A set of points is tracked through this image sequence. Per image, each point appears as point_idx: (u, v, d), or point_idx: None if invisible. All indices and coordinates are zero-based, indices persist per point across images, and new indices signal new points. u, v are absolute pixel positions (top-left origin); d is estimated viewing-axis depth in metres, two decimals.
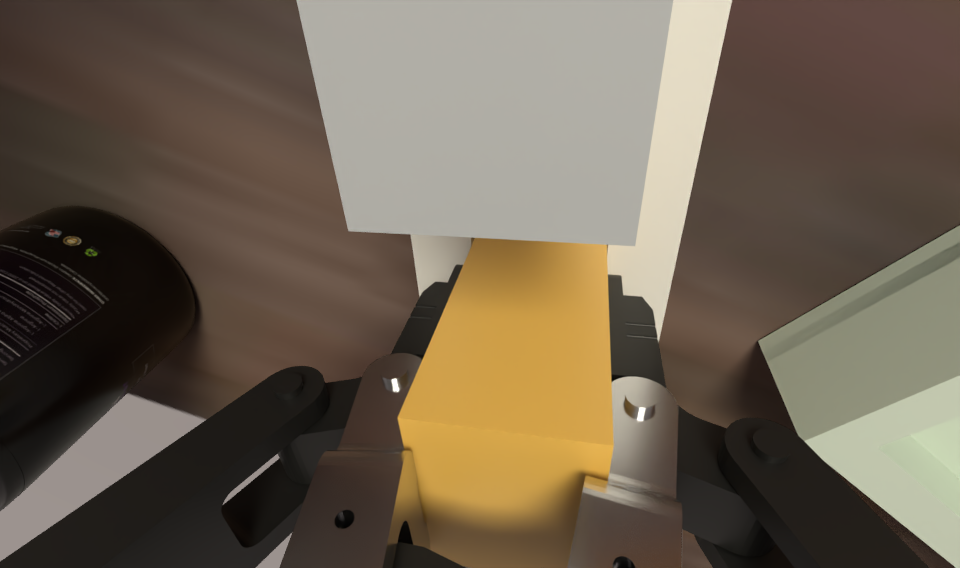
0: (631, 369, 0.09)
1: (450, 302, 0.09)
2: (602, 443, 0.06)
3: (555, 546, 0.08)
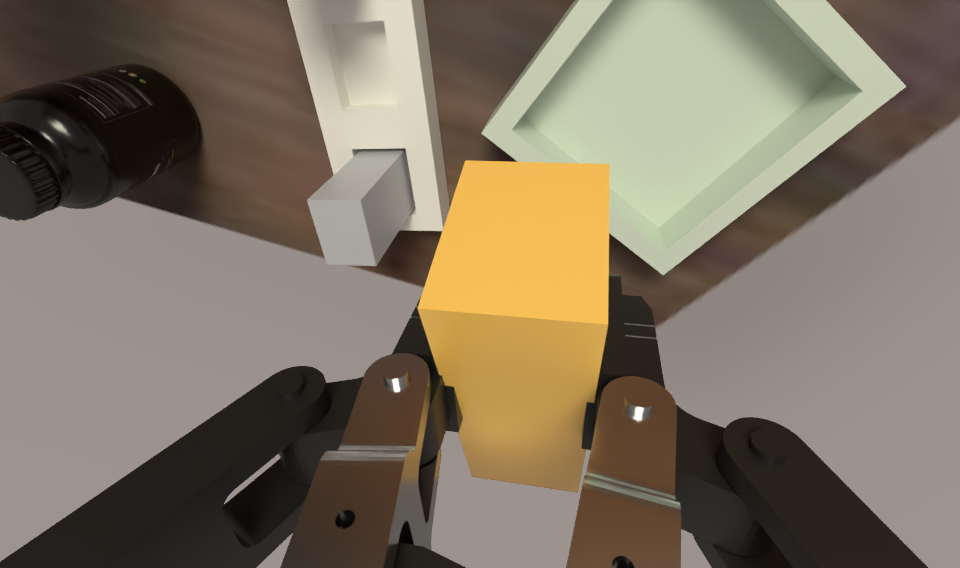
0: (630, 369, 0.09)
1: None
2: (602, 166, 0.10)
3: (568, 260, 0.08)
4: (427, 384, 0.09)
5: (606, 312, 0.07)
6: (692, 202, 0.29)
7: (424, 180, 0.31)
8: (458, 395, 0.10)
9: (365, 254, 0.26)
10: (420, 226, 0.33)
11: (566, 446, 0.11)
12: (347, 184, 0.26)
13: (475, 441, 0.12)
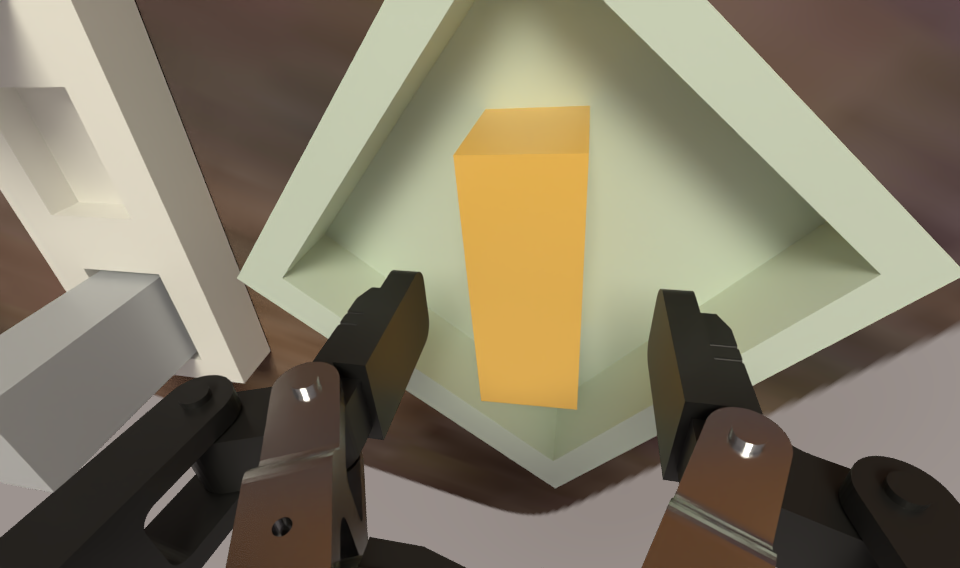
0: None
1: None
2: None
3: (561, 135, 0.11)
4: (335, 393, 0.08)
5: (587, 149, 0.10)
6: (603, 377, 0.18)
7: (199, 318, 0.20)
8: (476, 266, 0.12)
9: (30, 477, 0.16)
10: (211, 374, 0.22)
11: (563, 329, 0.13)
12: (4, 358, 0.16)
13: (486, 336, 0.14)
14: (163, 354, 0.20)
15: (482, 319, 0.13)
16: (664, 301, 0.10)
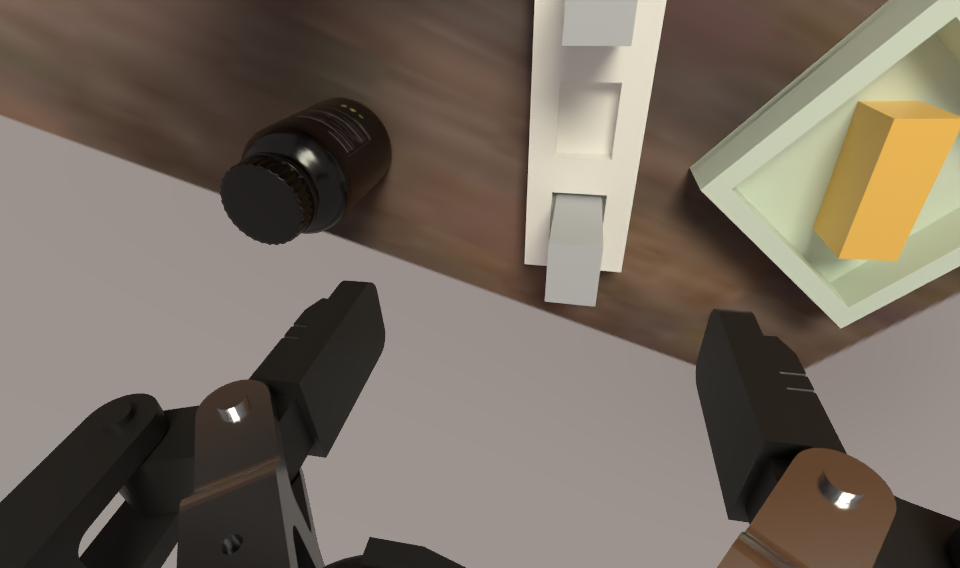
0: None
1: (841, 150, 0.29)
2: (916, 101, 0.27)
3: (934, 112, 0.24)
4: (262, 413, 0.08)
5: None
6: (871, 262, 0.31)
7: (616, 225, 0.33)
8: (877, 175, 0.25)
9: (588, 295, 0.28)
10: None
11: (911, 210, 0.26)
12: (575, 229, 0.28)
13: (863, 216, 0.27)
14: None
15: (865, 206, 0.26)
16: (722, 323, 0.10)
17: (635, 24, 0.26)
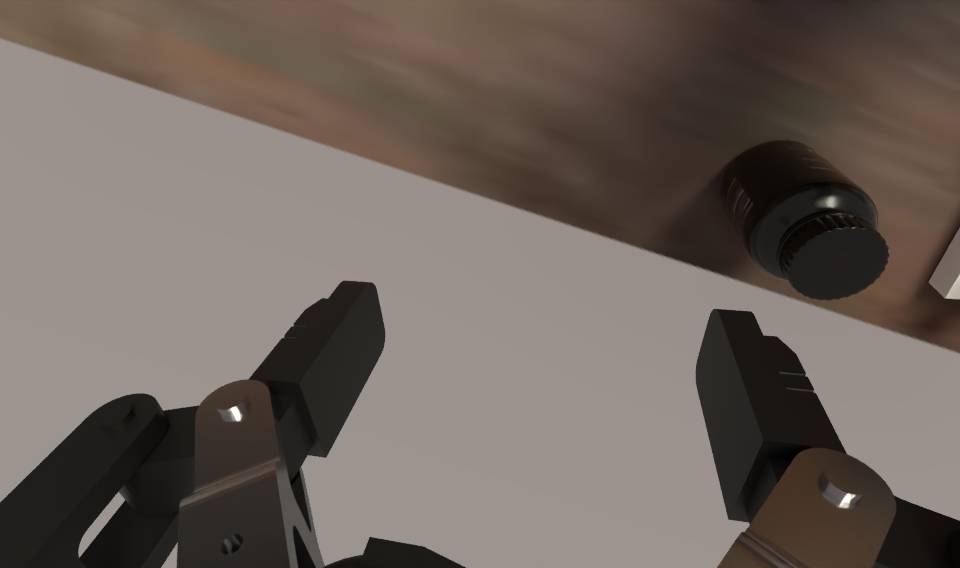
0: None
1: None
2: None
3: None
4: (262, 413, 0.08)
5: None
6: None
7: None
8: None
9: None
10: None
11: None
12: None
13: None
14: None
15: None
16: (722, 323, 0.10)
17: None
